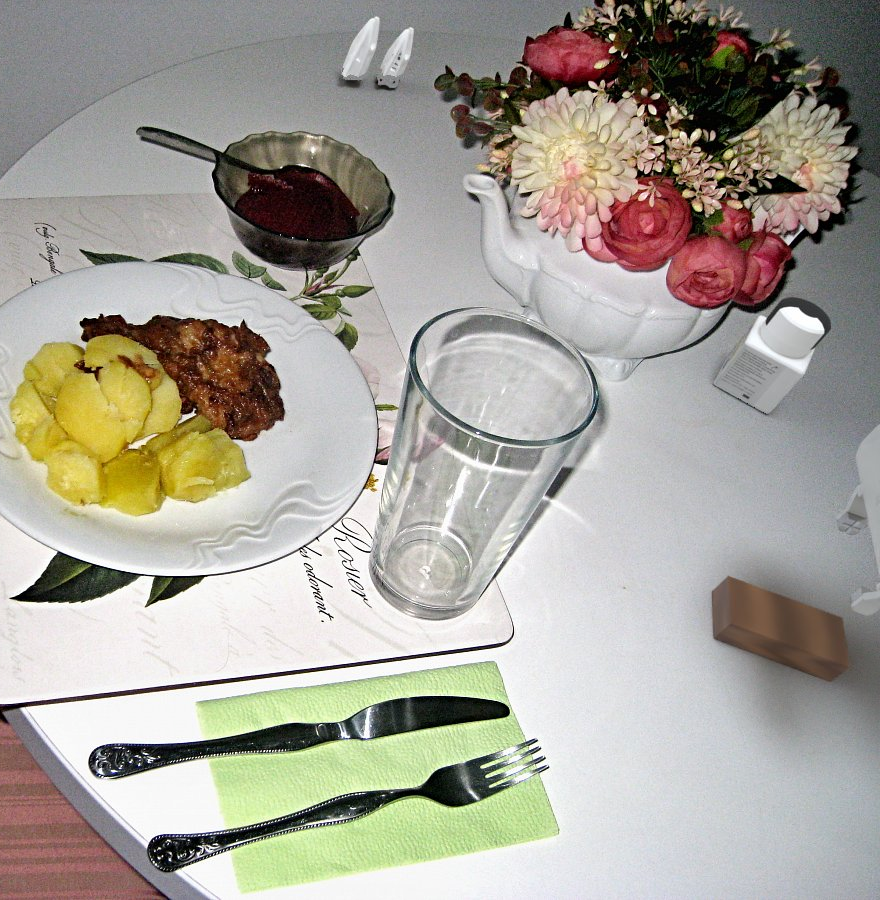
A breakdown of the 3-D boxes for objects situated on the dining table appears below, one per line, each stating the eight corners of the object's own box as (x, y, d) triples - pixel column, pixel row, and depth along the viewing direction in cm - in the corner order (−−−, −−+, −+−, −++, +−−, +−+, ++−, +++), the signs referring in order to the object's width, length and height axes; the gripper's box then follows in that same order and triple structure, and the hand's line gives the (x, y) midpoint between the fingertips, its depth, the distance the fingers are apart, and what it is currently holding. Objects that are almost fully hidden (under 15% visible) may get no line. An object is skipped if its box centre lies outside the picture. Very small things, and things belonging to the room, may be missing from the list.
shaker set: (339, 88, 149) (356, 22, 141) (332, 75, 152) (348, 9, 144) (404, 91, 153) (424, 27, 145) (395, 79, 156) (415, 15, 147)
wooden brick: (823, 632, 92) (842, 617, 90) (830, 681, 88) (850, 667, 86) (711, 591, 93) (728, 575, 91) (713, 638, 89) (730, 623, 87)
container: (726, 356, 121) (785, 281, 111) (780, 386, 119) (845, 312, 109) (711, 384, 116) (771, 308, 107) (767, 416, 114) (834, 341, 105)
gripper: (1043, 587, 64) (904, 675, 74) (977, 403, 78) (867, 498, 88) (958, 555, 64) (831, 647, 75) (907, 377, 78) (806, 475, 88)
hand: (850, 565), depth 81 cm, fingers open, 8 cm apart
